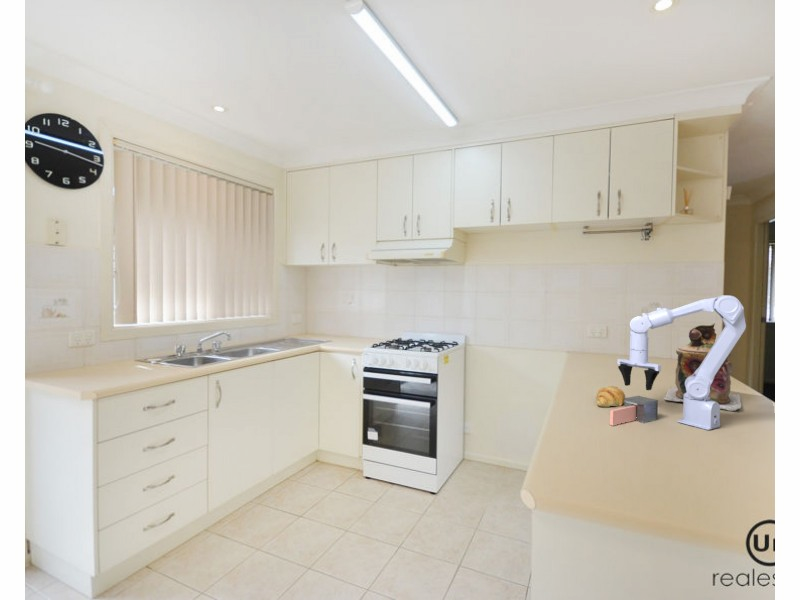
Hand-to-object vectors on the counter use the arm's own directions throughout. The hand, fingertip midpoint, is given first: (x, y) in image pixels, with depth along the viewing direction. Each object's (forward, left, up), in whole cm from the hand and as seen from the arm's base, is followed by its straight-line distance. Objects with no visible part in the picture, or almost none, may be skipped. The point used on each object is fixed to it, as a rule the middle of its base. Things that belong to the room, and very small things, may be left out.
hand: (637, 387), depth 144 cm
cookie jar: (-1, -44, -10) cm, 45 cm away
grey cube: (-3, +3, -10) cm, 11 cm away
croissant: (+14, -6, -10) cm, 19 cm away
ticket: (-3, +13, -10) cm, 17 cm away
